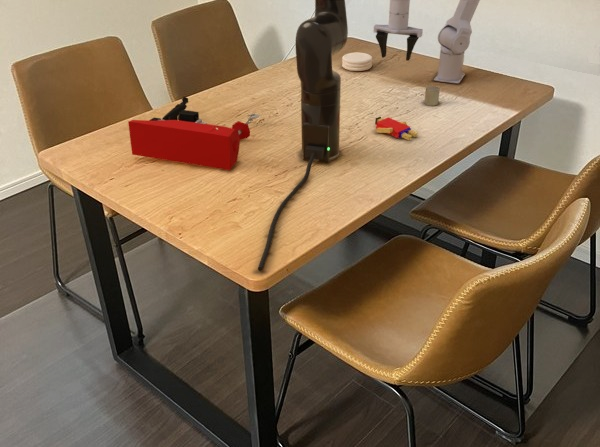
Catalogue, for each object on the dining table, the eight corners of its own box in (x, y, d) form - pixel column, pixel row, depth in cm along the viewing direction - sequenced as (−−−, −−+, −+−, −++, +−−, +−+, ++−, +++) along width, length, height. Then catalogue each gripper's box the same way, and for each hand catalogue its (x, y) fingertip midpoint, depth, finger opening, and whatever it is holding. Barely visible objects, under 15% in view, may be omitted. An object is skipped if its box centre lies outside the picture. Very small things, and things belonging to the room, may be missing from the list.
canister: (440, 105, 179) (442, 90, 177) (427, 106, 178) (429, 91, 176) (434, 100, 182) (436, 85, 180) (422, 101, 182) (423, 86, 179)
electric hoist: (177, 78, 171) (124, 120, 146) (270, 90, 165) (231, 136, 141) (180, 112, 176) (129, 158, 152) (269, 125, 171) (232, 175, 146)
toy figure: (421, 128, 160) (386, 113, 167) (405, 136, 156) (369, 120, 163) (420, 136, 162) (385, 121, 169) (404, 144, 158) (368, 128, 165)
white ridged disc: (357, 73, 202) (357, 63, 200) (335, 66, 209) (336, 56, 207) (378, 66, 208) (378, 56, 206) (356, 60, 214) (357, 50, 212)
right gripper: (371, 13, 181) (368, 59, 188) (419, 17, 176) (415, 64, 183) (378, 7, 186) (376, 52, 194) (426, 12, 181) (421, 58, 188)
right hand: (395, 58), depth 189 cm, fingers open, 7 cm apart
